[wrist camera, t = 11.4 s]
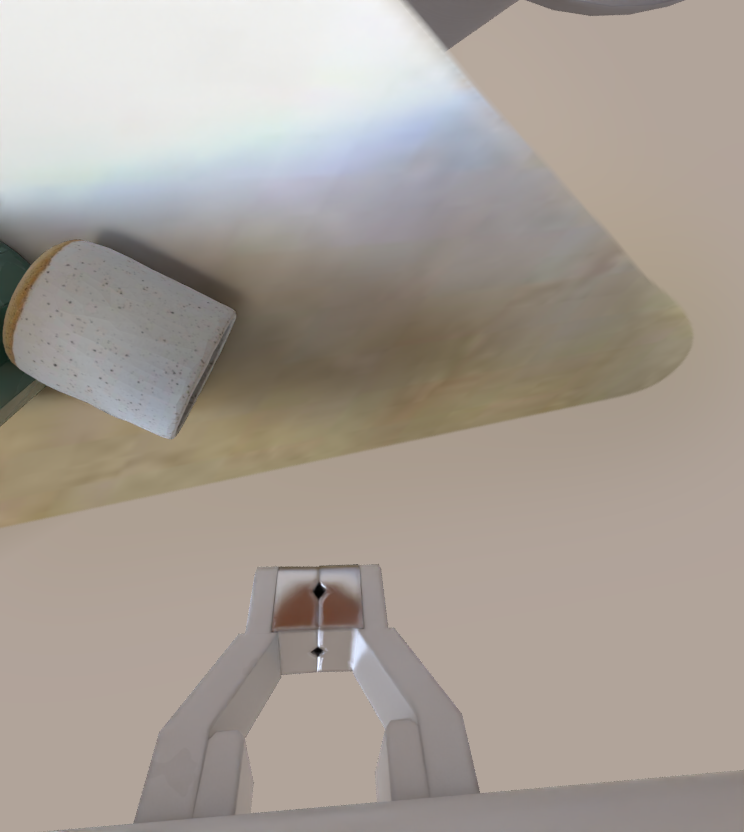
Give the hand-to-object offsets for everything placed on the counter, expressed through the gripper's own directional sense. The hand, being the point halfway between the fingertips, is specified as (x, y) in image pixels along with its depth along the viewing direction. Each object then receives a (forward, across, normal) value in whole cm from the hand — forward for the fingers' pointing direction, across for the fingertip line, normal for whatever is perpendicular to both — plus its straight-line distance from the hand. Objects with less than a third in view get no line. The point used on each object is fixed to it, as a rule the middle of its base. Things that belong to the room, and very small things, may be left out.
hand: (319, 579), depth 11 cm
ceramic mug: (+18, +10, +2) cm, 21 cm away
